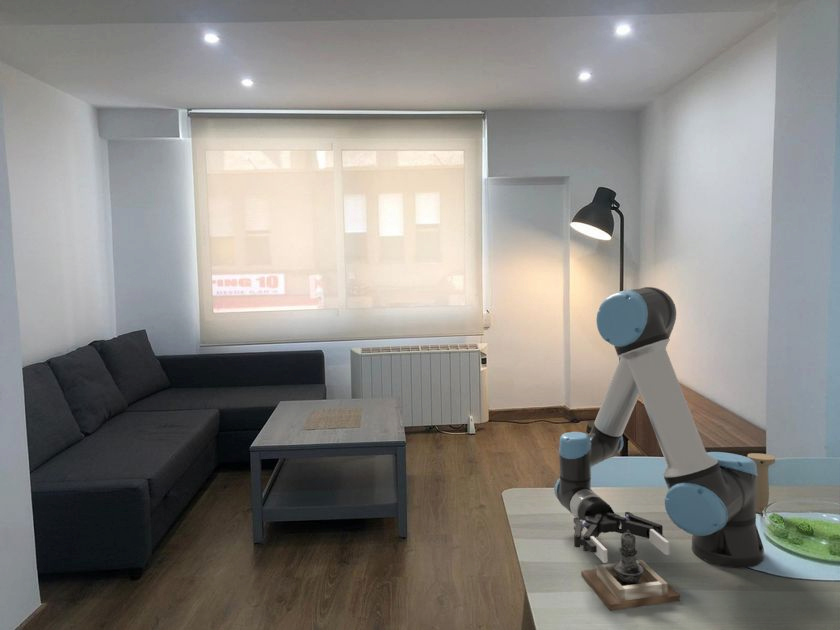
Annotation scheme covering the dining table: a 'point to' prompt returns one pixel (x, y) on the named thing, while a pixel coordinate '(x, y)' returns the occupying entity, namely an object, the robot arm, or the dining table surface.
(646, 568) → the caddy
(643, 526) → the robot arm
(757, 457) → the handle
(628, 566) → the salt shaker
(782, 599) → the dining table surface
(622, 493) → the dining table surface
